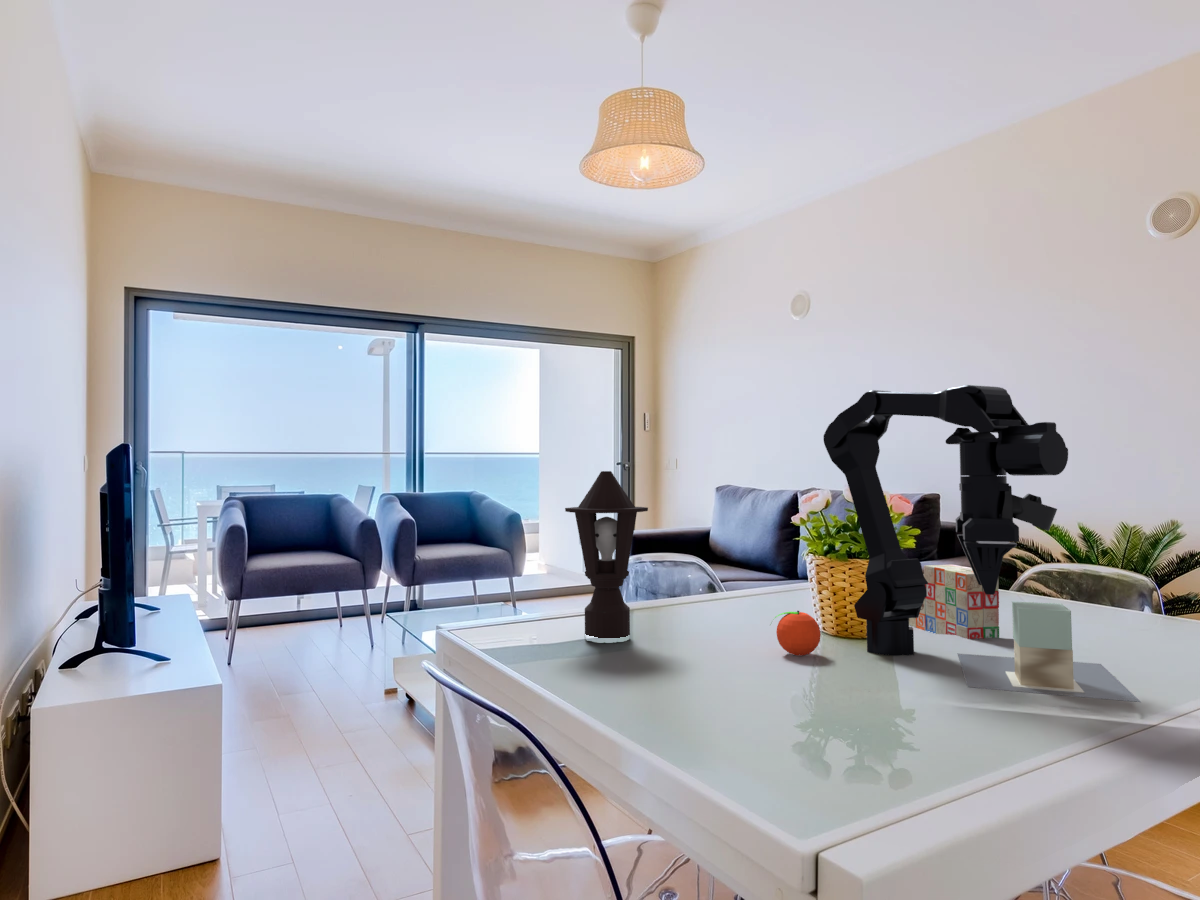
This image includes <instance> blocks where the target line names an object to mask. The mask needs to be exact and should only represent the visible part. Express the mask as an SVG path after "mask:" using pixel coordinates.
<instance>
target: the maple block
mask: <svg viewBox="0 0 1200 900" xmlns="http://www.w3.org/2000/svg"><path fill="white" fill-rule="evenodd" d="M1013 650H1014V651H1013V653H1014V655H1013V656H1014V659H1015V675H1016V677H1017V679H1018V680H1019V682H1020V684H1021V685H1029V686H1040V687H1052V688H1064V689H1074V677H1073V662H1074V655H1073V654H1074V650H1073V649H1072V650H1061V649H1046V648H1031V647H1019V645H1018V644H1017V643H1016V641H1015V640H1014V639H1013Z"/></svg>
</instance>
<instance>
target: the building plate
mask: <svg viewBox="0 0 1200 900" xmlns="http://www.w3.org/2000/svg"><path fill="white" fill-rule="evenodd" d="M957 657H958V661H959V664H960V667H961V670H962V673H963V677H964V680H965V683H966V686H967V688H970V689H971V688H973V689H981V690H982V689H986V690H995V691H1005V692H1008V691H1009V692H1017V693H1018V692H1020V693H1031V694H1041V695H1042V694H1043V695H1053V696H1055V695H1056V696H1065V697H1078V698H1085V699H1086V698H1089V699H1100V700H1110V701H1121V702H1122V701H1123V702H1131V703H1132V702H1133V703H1134V702H1135V703H1142V702H1141V700H1140V699H1138V698H1137V696H1136V695H1134V694H1133V693H1132V692H1131V691H1130V690H1129V689H1128V688H1127V687H1126V686H1125V685H1124V684H1123V683H1122V682H1121V681H1120V680H1119V679H1117V678H1116V677H1115V676H1114V675H1113V674H1112V673H1111V672H1110V671H1109V670H1108V669H1107V668H1106V667H1105V666H1104V665H1103V664H1102V663H1095V662H1083V661H1073V677H1074V689H1064V688H1052V687H1040V686H1029V685H1021V684H1020V682H1019V680H1018V679H1017V677H1016V675H1015V659H1014V657H1011V656H997V655H986V654H985V655H982V654H969V653H957Z"/></svg>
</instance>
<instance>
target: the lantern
mask: <svg viewBox="0 0 1200 900" xmlns="http://www.w3.org/2000/svg"><path fill="white" fill-rule="evenodd" d="M564 510H565V511H564V512H567V513H574V515H575V519H576V526H577V531H578V532H577V533H578V536H579V537H578V538H579V543H580V547H581V551H582V557H583V563H584V568H585V571H584V576H585V577H587V579H588V580H589V581H590V585H591V586H592V587H594V590H593V593H592V595H591V599H590V602H589V603H588V604H587V605H586V606H585V608H584V635H585V634H586V635H589V636H594V637H598V638H620V637H626V636H628V635H630V636H631V623H630V622H631V615H630V613H631V612H630V611H631V609H630V607H629V605H627V604H626V602H625V601H624V597H623V595H622V592H621V588H620V587H623V584H624V580H626V579H627V577H629V574H630V571H629V561H630V557H631V551H632V550H631V549H632V543H633V538H634V531H635V527H636V521H637V520H636V519H637V515H638V513H642V512H648V511H649V507H646V506H635V505H634V504H633V502H632V501H631V499H630V497H629V496H628V494H627V493H626V492H625V490H624V489H623V487H622V486H621V485H620V483H619V481H618V479H617V478H616V477H615V475H614V473H613V472H612V471H611V470H609V471H608V470H603V471H602V470H600V472H599V474H598V475H597V478H595V480H594V482H593V484H592V485H591V487H590V488H589V491H587V493H586V495H585V496H584V497H583V499H582V501H581V502H580V503H579V505H578V506H574V507H573V506H572V507H565V508H564ZM597 514H616V518H617V519H615V518H613V517H609V516H604V517H600V518H598V519H597ZM614 554H615V555H614ZM613 555H614V558H613ZM600 557H601V558H600Z"/></svg>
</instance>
